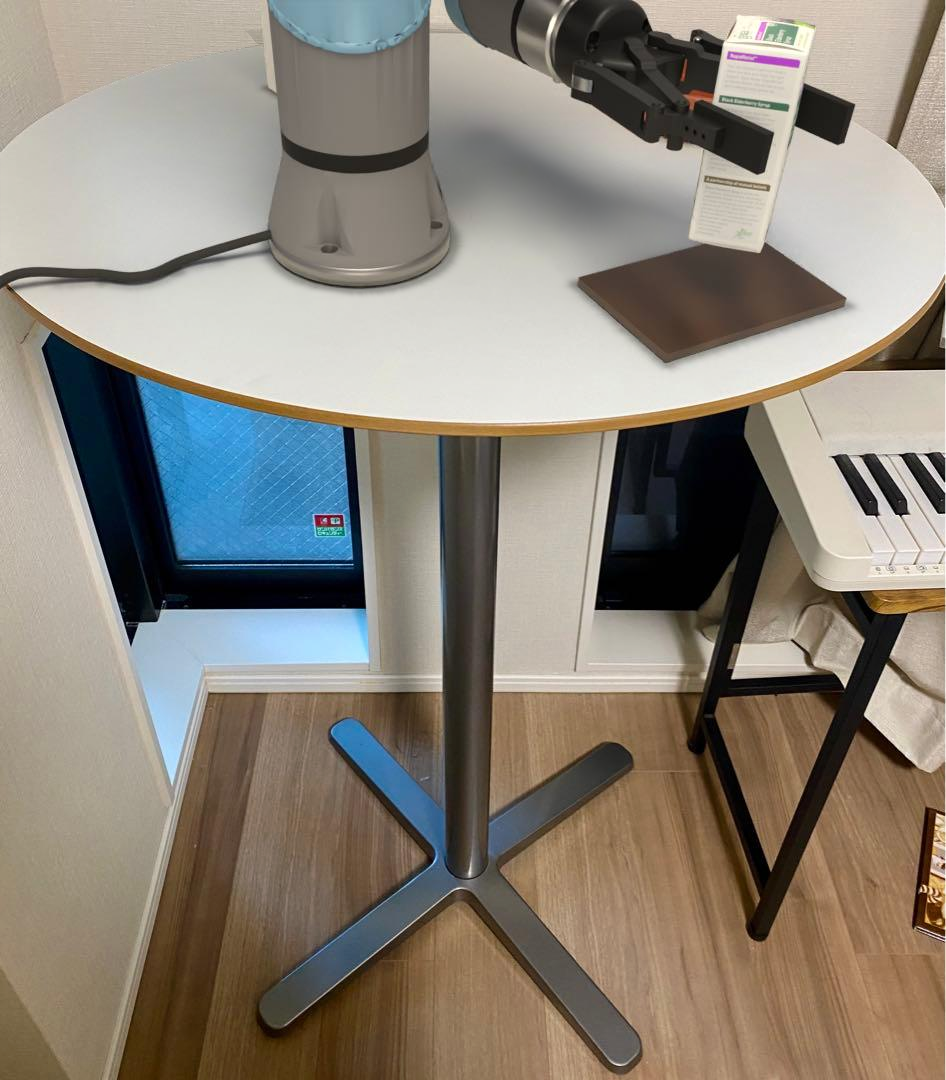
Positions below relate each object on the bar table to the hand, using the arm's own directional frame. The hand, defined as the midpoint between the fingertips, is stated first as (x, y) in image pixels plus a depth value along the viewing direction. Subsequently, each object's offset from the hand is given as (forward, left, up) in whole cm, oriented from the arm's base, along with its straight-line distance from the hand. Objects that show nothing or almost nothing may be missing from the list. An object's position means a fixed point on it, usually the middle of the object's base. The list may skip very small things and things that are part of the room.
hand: (806, 139), depth 67 cm
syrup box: (-1, +5, -9) cm, 10 cm away
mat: (-1, +5, -15) cm, 15 cm away
